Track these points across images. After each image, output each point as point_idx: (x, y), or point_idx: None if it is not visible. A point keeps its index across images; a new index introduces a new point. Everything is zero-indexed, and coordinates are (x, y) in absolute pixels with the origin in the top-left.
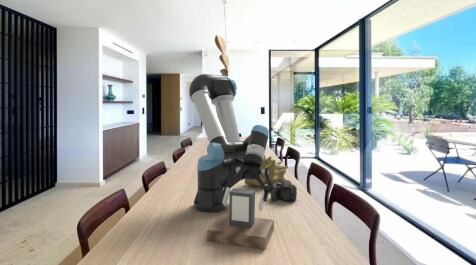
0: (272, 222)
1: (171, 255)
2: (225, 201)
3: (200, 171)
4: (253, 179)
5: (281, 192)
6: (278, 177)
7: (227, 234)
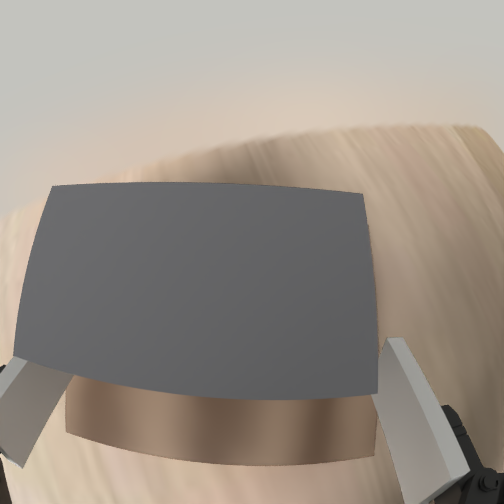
0: (66, 394)
1: (388, 145)
2: (387, 370)
3: None
4: None
5: None
6: None
7: None
